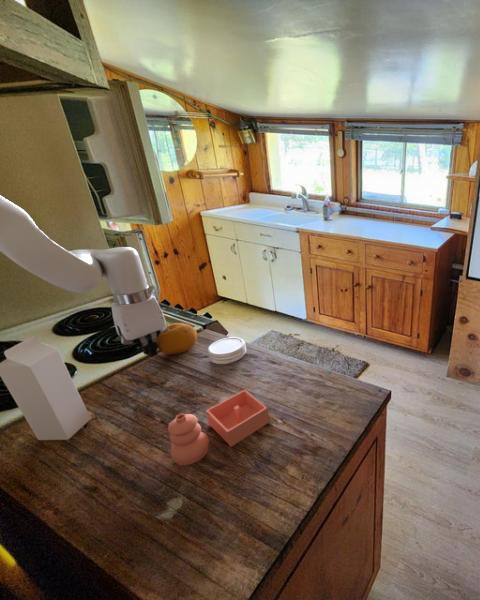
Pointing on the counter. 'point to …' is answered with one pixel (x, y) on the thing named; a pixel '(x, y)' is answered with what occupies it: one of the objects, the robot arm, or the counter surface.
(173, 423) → the pottery
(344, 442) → the counter surface
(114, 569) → the counter surface
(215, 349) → the white round flat stack
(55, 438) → the milk
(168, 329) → the fruit
